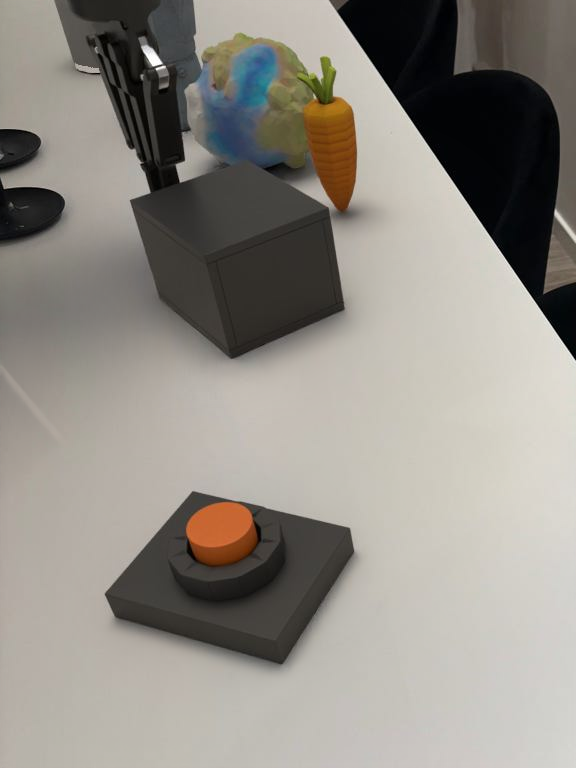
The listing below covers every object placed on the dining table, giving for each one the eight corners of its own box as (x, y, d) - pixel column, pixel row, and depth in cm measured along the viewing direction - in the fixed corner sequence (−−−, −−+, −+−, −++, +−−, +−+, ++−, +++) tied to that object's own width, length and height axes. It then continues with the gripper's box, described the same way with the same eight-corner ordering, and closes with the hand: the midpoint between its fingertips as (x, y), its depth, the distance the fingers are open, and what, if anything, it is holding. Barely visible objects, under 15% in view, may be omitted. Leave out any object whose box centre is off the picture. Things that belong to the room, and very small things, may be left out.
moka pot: (194, 143, 116) (147, -44, 102) (107, 121, 122) (52, -59, 108) (248, 116, 121) (211, -65, 108) (163, 96, 128) (118, -78, 114)
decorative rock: (157, 26, 99) (292, 39, 96) (233, 29, 112) (353, 41, 109) (166, 169, 105) (293, 185, 102) (237, 156, 119) (350, 170, 116)
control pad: (114, 617, 61) (94, 573, 58) (200, 513, 67) (185, 470, 65) (282, 664, 57) (269, 621, 55) (354, 551, 64) (346, 507, 61)
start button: (180, 559, 59) (172, 538, 58) (214, 516, 62) (208, 496, 61) (236, 573, 58) (230, 553, 57) (269, 529, 61) (264, 509, 60)
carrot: (340, 227, 98) (317, 73, 88) (309, 213, 101) (282, 63, 90) (376, 209, 101) (357, 58, 90) (344, 197, 103) (322, 48, 93)
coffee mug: (74, 56, 141) (51, -20, 135) (143, 46, 143) (124, -29, 137) (75, 86, 132) (50, 6, 125) (149, 75, 134) (128, -4, 127)
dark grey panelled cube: (159, 298, 89) (129, 199, 83) (267, 255, 94) (247, 159, 88) (231, 358, 82) (204, 255, 75) (345, 308, 87) (329, 207, 80)
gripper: (182, -37, 76) (242, 237, 92) (112, -67, 83) (180, 193, 99) (92, -16, 73) (171, 265, 89) (28, -49, 80) (112, 217, 96)
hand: (176, 227), depth 94 cm, fingers closed
